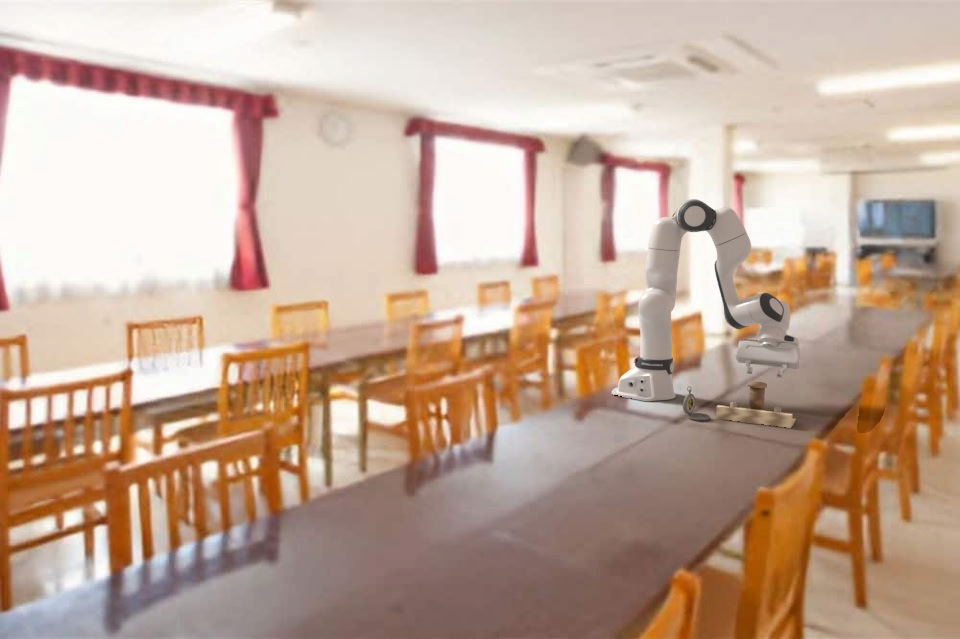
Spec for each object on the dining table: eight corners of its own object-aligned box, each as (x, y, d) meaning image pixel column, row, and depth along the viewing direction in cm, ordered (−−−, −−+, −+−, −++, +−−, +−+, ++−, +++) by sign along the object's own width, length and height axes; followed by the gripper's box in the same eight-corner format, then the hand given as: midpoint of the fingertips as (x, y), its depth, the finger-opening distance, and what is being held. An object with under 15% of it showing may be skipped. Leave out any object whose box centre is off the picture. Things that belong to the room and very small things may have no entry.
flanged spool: (742, 418, 222) (743, 384, 221) (746, 412, 228) (747, 380, 227) (765, 421, 219) (767, 387, 217) (769, 415, 225) (771, 382, 223)
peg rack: (716, 418, 224) (716, 403, 223) (723, 411, 233) (723, 396, 232) (791, 428, 213) (791, 412, 212) (795, 420, 221) (796, 404, 221)
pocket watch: (711, 422, 221) (712, 390, 219) (683, 421, 222) (684, 389, 221) (708, 415, 229) (709, 384, 227) (681, 414, 230) (682, 384, 229)
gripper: (738, 333, 244) (730, 365, 238) (802, 338, 234) (796, 373, 227) (740, 343, 249) (732, 376, 242) (803, 350, 238) (797, 383, 232)
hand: (764, 374), depth 234 cm, fingers open, 8 cm apart
